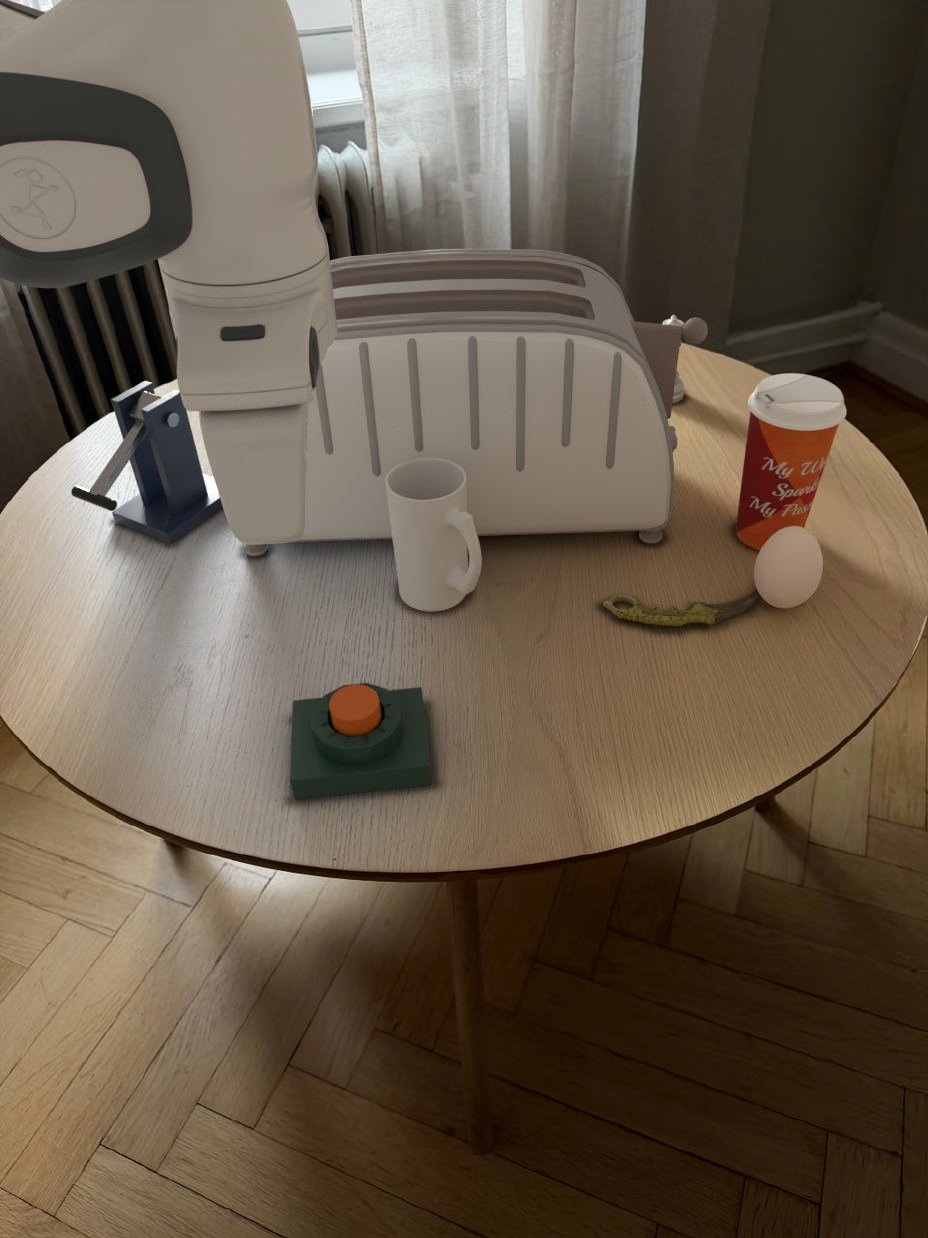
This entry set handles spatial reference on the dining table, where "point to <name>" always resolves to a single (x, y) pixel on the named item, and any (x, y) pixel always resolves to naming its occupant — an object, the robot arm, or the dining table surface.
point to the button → (355, 710)
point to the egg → (788, 567)
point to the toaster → (493, 394)
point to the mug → (432, 533)
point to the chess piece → (678, 382)
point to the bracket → (164, 469)
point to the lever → (118, 459)
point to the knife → (677, 617)
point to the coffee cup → (785, 452)
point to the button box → (359, 747)
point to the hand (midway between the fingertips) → (289, 517)
